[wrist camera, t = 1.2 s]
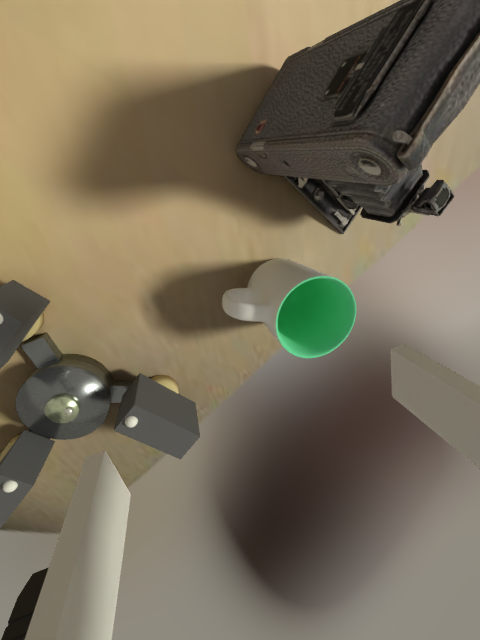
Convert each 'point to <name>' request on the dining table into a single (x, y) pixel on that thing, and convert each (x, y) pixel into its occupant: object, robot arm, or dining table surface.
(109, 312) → the dining table surface
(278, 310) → the mug
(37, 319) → the grey block with dot
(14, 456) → the knob
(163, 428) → the knob
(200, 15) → the dining table surface
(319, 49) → the camera
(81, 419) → the level base
